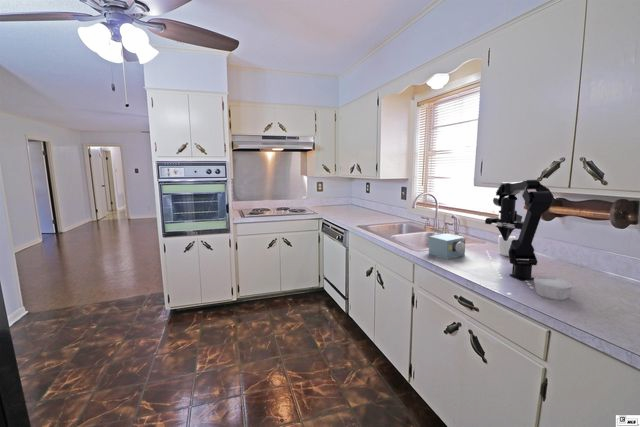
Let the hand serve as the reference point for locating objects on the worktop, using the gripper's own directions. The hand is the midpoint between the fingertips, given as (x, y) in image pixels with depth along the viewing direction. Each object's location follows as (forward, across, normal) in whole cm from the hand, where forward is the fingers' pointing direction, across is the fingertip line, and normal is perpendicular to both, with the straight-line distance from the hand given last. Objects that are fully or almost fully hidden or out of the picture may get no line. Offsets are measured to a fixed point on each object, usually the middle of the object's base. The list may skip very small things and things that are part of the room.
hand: (505, 240), depth 141 cm
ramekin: (+12, -29, +18) cm, 37 cm away
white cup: (+12, +10, -17) cm, 23 cm away
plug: (+9, +24, +10) cm, 27 cm away
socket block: (+12, +26, +10) cm, 30 cm away
